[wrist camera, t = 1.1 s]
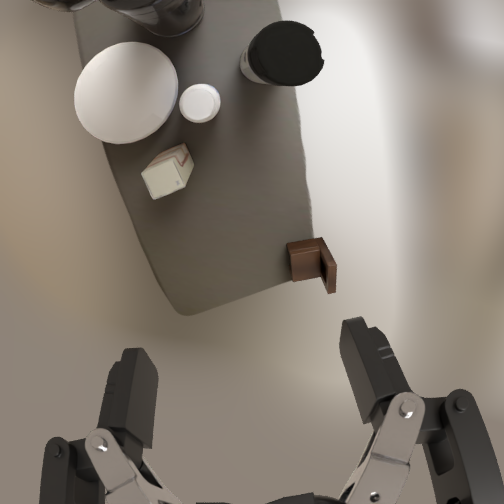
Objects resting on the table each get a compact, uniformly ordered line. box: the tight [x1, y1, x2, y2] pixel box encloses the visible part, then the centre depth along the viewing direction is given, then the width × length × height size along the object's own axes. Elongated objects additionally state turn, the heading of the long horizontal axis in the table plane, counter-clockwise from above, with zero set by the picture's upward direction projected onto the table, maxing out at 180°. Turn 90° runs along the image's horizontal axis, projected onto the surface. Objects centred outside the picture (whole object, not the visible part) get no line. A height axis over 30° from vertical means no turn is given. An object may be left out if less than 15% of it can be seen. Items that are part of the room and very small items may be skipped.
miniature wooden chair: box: [287, 237, 337, 294], centre depth 53 cm, size 6×7×9 cm
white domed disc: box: [74, 42, 178, 144], centre depth 34 cm, size 16×16×7 cm
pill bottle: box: [179, 84, 221, 123], centre depth 35 cm, size 6×5×10 cm
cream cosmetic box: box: [141, 143, 194, 200], centre depth 40 cm, size 5×4×10 cm
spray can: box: [240, 21, 324, 86], centre depth 29 cm, size 7×7×20 cm
